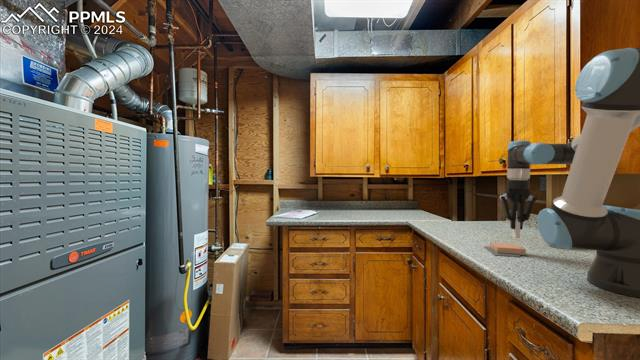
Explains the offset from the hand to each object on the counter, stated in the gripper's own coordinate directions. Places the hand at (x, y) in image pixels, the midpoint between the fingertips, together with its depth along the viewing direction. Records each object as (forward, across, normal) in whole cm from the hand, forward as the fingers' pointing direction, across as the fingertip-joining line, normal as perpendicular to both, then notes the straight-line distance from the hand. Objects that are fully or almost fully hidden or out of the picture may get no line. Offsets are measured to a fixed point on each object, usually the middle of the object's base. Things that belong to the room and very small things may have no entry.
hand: (516, 237), depth 111 cm
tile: (+5, -2, 0) cm, 5 cm away
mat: (+7, +5, 0) cm, 8 cm away
